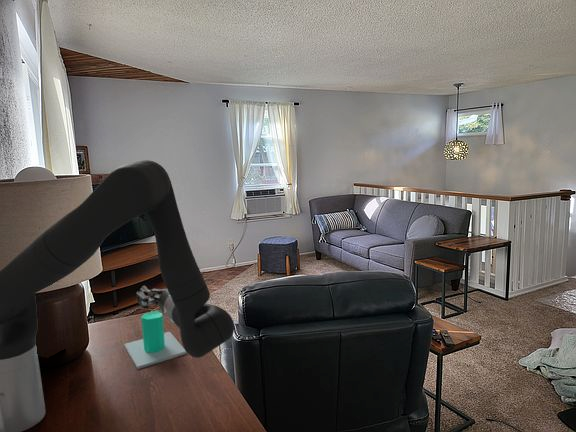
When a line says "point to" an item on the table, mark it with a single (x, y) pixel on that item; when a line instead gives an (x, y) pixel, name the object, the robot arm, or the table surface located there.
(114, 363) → the table surface
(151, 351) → the candle
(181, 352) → the tile
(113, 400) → the table surface
